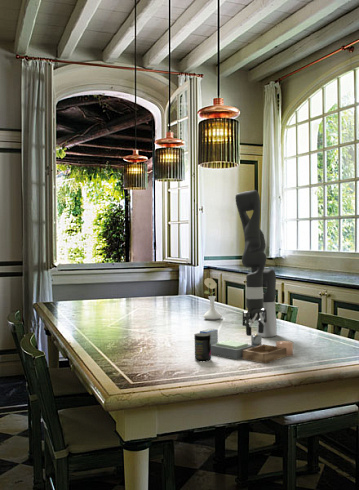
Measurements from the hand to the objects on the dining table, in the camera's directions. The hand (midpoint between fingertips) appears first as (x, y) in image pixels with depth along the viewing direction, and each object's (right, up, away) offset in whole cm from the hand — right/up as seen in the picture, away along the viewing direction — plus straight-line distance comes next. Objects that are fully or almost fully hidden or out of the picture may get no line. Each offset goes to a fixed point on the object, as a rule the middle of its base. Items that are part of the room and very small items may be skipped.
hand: (255, 334), depth 221 cm
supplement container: (-23, -8, -14) cm, 28 cm away
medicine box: (-20, -8, +5) cm, 22 cm away
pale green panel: (-11, -4, -5) cm, 13 cm away
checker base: (-11, -8, -5) cm, 14 cm away
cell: (+1, -7, 0) cm, 7 cm away
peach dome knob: (+11, -7, -8) cm, 15 cm away
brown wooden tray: (+2, -7, -12) cm, 15 cm away
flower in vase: (-13, -6, +87) cm, 88 cm away
